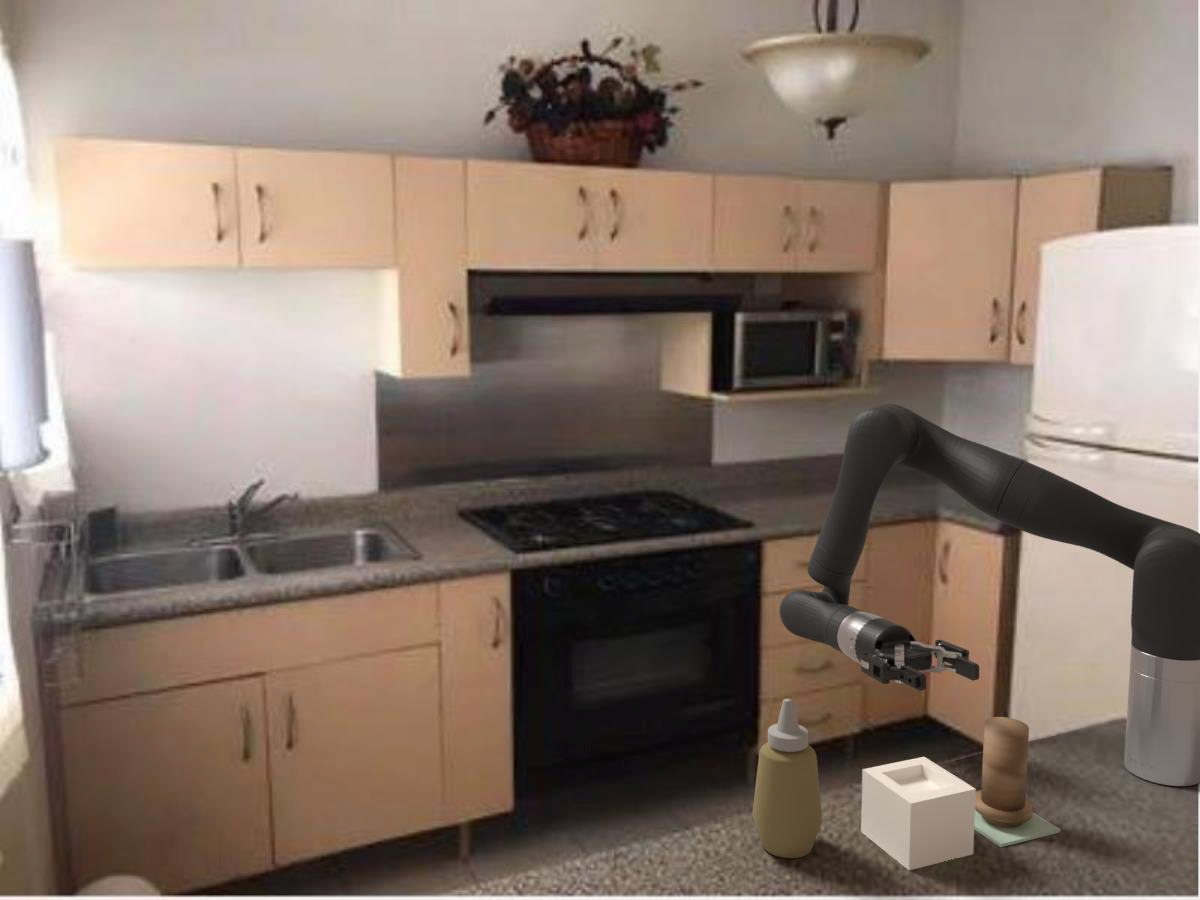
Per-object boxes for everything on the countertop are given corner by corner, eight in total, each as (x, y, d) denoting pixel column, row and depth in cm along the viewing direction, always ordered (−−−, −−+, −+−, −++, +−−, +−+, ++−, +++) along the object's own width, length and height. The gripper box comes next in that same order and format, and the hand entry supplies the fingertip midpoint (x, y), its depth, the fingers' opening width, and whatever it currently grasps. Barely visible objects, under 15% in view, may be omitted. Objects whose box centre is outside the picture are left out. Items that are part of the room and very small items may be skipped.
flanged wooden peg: (1003, 800, 125) (1007, 710, 124) (1045, 825, 119) (1050, 731, 117) (960, 810, 123) (964, 719, 121) (1000, 837, 116) (1005, 740, 115)
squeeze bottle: (749, 860, 113) (750, 711, 111) (755, 825, 121) (755, 685, 118) (821, 869, 111) (823, 717, 109) (822, 832, 119) (824, 690, 116)
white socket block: (922, 817, 122) (924, 756, 121) (973, 854, 114) (975, 788, 113) (861, 831, 119) (862, 769, 118) (908, 870, 110) (910, 803, 109)
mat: (1005, 798, 126) (1005, 795, 126) (1060, 832, 118) (1060, 829, 118) (948, 811, 123) (948, 808, 123) (1000, 847, 115) (1000, 844, 115)
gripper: (833, 624, 141) (906, 658, 125) (915, 611, 145) (995, 642, 130) (833, 674, 141) (905, 714, 126) (915, 660, 146) (994, 697, 131)
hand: (950, 678), depth 128 cm, fingers open, 8 cm apart
